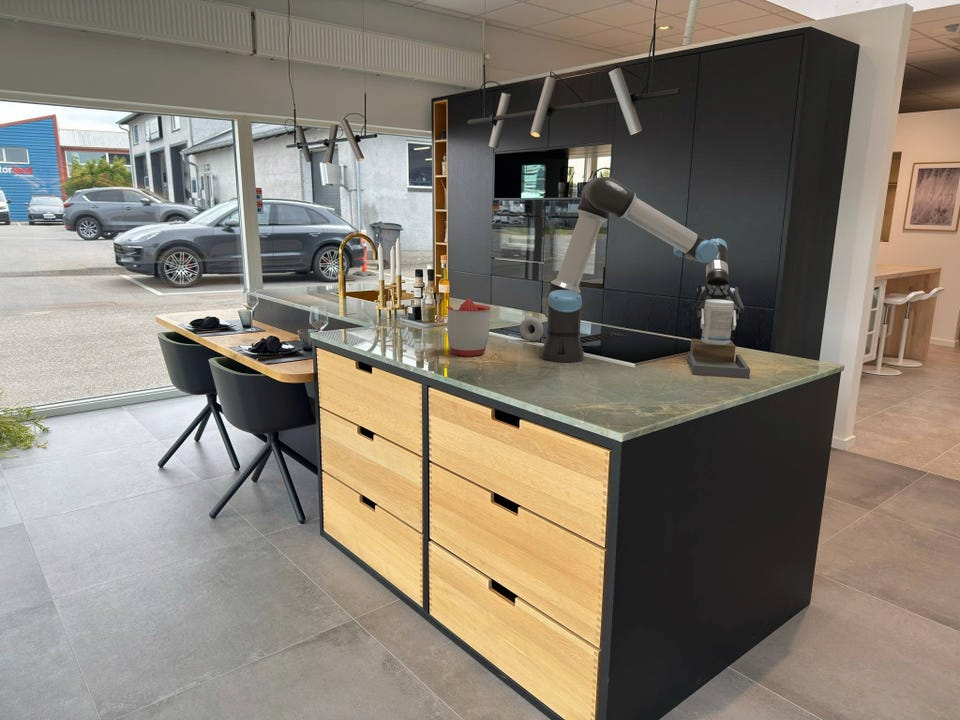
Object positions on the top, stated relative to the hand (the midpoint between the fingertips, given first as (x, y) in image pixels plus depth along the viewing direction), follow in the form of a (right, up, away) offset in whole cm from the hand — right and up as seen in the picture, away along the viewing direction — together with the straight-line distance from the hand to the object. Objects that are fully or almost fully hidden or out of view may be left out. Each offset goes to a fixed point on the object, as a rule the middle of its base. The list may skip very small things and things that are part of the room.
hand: (718, 327), depth 231 cm
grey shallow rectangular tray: (-1, -14, -2) cm, 14 cm away
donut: (-61, -4, +38) cm, 72 cm away
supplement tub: (0, -6, +4) cm, 7 cm away
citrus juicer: (-86, -9, +15) cm, 88 cm away
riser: (+2, -11, +13) cm, 17 cm away
